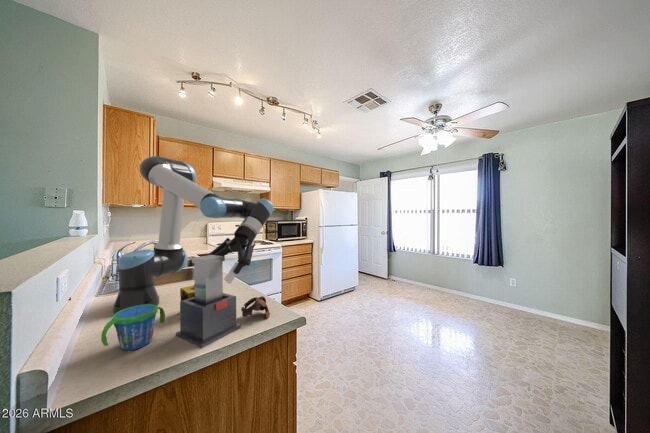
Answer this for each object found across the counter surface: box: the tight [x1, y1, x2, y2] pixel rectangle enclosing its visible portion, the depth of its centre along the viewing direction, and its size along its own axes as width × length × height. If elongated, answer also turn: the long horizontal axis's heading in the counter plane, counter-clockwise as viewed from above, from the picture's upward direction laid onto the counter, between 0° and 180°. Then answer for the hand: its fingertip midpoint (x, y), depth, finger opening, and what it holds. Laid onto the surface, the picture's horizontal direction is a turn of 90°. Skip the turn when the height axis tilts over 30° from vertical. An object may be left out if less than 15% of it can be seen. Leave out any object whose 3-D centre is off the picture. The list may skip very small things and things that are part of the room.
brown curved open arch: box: [240, 295, 271, 320], centre depth 90 cm, size 12×10×8 cm
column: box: [191, 254, 226, 306], centre depth 77 cm, size 7×7×24 cm
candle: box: [179, 284, 195, 301], centre depth 93 cm, size 10×10×10 cm
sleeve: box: [175, 292, 242, 349], centre depth 77 cm, size 14×14×11 cm
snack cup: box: [100, 304, 166, 351], centre depth 70 cm, size 16×10×10 cm
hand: (213, 279), depth 78 cm, fingers open, 13 cm apart
